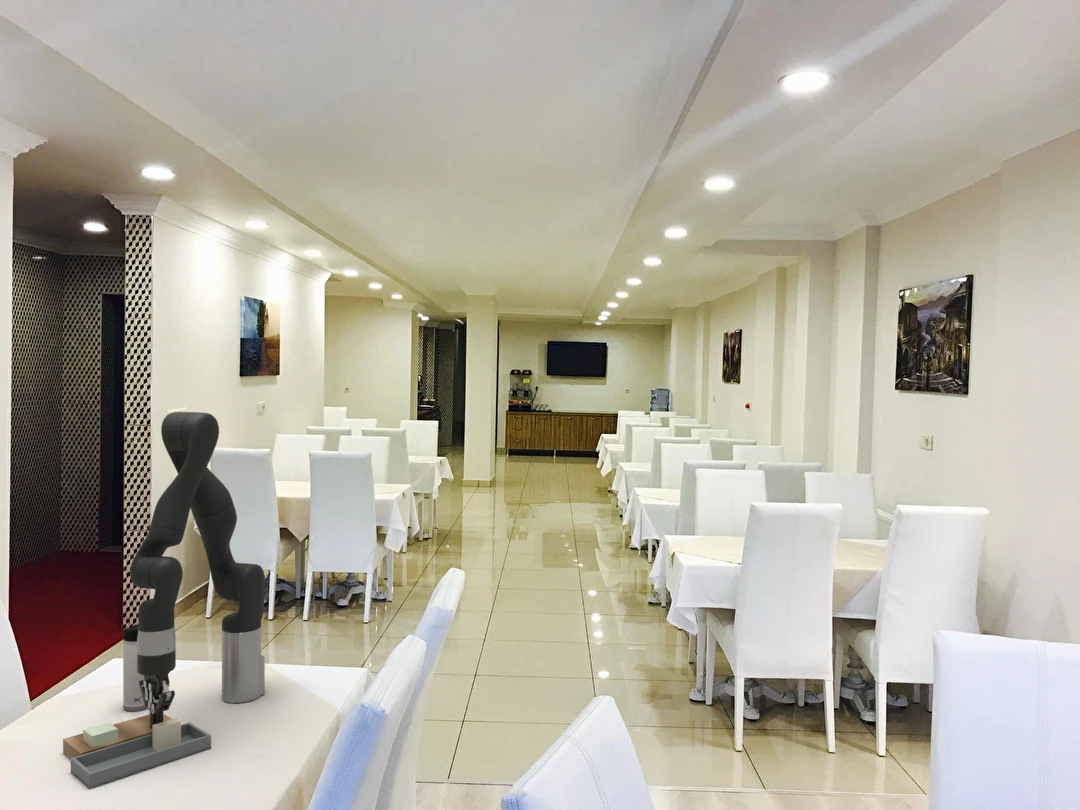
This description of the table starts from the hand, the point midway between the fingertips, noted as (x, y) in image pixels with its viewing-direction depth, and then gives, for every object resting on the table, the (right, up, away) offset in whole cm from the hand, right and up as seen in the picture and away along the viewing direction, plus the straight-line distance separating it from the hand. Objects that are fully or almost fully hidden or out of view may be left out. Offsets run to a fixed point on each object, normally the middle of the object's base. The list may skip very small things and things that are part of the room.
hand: (156, 728), depth 175 cm
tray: (+1, -4, -7) cm, 8 cm away
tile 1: (-9, -1, -5) cm, 11 cm away
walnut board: (-7, -4, 0) cm, 8 cm away
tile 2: (+2, -1, -1) cm, 2 cm away
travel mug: (-14, -3, +21) cm, 25 cm away
